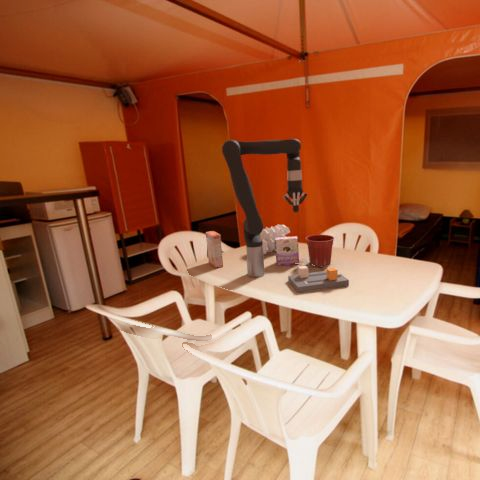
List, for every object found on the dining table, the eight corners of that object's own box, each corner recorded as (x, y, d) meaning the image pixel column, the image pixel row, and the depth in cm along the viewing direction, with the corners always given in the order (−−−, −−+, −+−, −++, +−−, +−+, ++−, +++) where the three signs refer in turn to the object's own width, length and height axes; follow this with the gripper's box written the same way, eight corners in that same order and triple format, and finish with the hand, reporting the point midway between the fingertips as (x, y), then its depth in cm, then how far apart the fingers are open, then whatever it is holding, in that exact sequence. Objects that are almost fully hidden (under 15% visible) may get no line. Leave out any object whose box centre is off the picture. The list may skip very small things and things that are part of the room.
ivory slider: (301, 278, 168) (300, 268, 166) (298, 275, 172) (298, 266, 170) (308, 277, 168) (308, 267, 167) (305, 274, 172) (305, 265, 171)
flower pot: (334, 259, 202) (334, 234, 198) (334, 268, 186) (334, 241, 182) (307, 259, 206) (306, 234, 202) (305, 268, 191) (304, 241, 187)
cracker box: (223, 266, 205) (220, 234, 200) (214, 268, 203) (211, 235, 198) (217, 260, 218) (214, 230, 212) (208, 262, 216) (205, 231, 210)
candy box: (298, 261, 204) (297, 235, 200) (299, 264, 198) (298, 238, 194) (276, 262, 205) (274, 236, 201) (276, 265, 199) (274, 239, 195)
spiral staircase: (255, 260, 226) (279, 249, 241) (270, 253, 212) (295, 243, 227) (244, 235, 227) (269, 227, 242) (259, 227, 213) (285, 218, 228)
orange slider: (329, 280, 162) (329, 271, 160) (326, 277, 165) (326, 268, 164) (337, 279, 162) (337, 270, 161) (334, 276, 166) (333, 267, 165)
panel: (298, 292, 158) (297, 285, 157) (288, 281, 174) (288, 274, 173) (348, 285, 162) (348, 278, 161) (334, 274, 177) (334, 267, 176)
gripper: (304, 177, 174) (305, 209, 178) (280, 179, 172) (281, 212, 176) (309, 178, 167) (310, 212, 171) (284, 180, 165) (285, 214, 169)
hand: (295, 212), depth 174 cm, fingers closed
